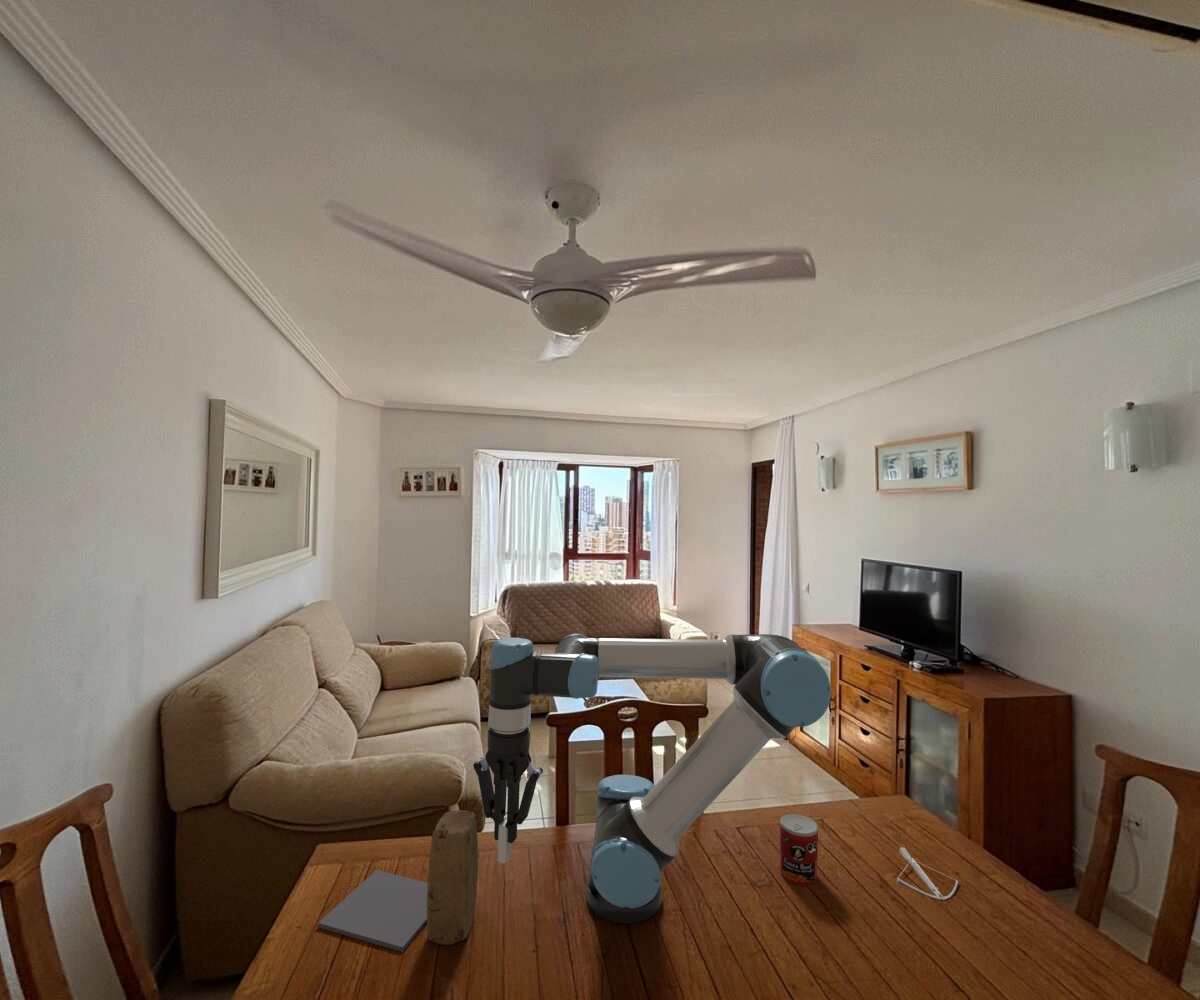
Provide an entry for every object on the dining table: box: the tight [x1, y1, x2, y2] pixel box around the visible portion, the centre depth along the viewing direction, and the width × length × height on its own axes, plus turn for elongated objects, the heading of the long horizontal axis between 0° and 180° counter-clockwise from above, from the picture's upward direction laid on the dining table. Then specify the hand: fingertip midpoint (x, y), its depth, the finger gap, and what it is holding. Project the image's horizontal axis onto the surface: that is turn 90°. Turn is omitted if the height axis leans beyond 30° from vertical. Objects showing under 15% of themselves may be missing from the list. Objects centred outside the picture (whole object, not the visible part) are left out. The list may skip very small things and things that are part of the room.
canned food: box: [779, 813, 819, 886], centre depth 122 cm, size 8×8×11 cm
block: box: [426, 809, 479, 946], centre depth 105 cm, size 11×8×20 cm
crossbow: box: [896, 847, 959, 901], centre depth 123 cm, size 16×13×2 cm
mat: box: [317, 869, 428, 953], centre depth 109 cm, size 18×16×1 cm
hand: (504, 858), depth 102 cm, fingers closed
